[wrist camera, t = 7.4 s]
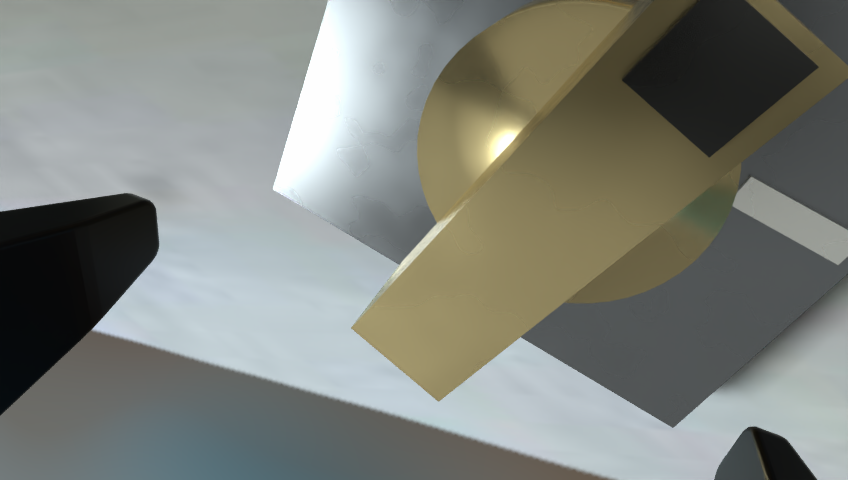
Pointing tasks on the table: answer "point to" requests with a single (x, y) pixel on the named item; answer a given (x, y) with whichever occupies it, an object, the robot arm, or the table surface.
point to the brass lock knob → (583, 164)
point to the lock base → (580, 322)
